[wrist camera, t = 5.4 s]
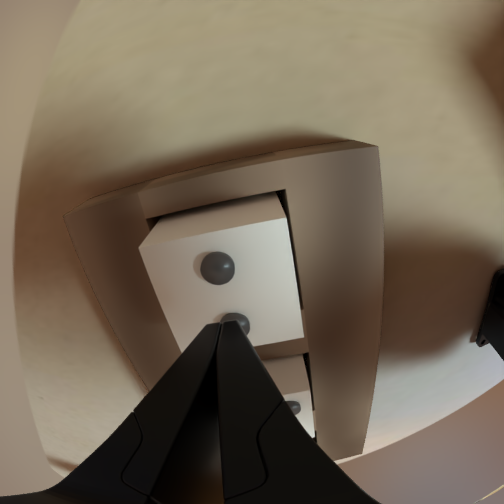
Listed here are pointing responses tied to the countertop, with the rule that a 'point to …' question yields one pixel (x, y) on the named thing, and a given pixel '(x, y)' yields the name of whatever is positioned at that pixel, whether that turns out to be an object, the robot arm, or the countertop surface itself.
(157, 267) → the key two dots
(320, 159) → the key panel
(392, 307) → the countertop surface
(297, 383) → the key three dots
